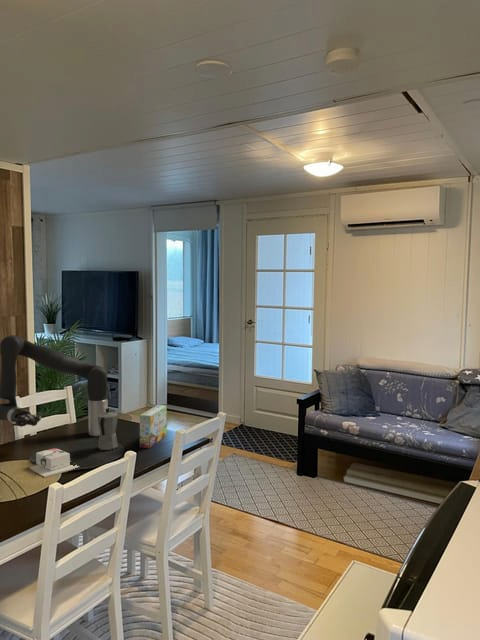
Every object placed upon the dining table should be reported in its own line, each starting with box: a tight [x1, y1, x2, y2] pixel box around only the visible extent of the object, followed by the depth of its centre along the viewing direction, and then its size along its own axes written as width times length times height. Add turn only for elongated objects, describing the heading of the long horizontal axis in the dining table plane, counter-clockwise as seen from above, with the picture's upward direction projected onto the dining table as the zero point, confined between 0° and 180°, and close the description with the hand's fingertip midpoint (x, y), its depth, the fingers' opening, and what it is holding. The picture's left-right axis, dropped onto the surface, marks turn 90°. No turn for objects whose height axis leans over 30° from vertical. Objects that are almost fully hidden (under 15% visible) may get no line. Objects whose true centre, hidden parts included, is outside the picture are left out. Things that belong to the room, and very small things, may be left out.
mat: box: [29, 464, 80, 478], centre depth 186 cm, size 14×14×1 cm
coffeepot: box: [97, 408, 119, 449], centre depth 209 cm, size 15×9×18 cm, turn 179°
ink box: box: [35, 447, 71, 471], centre depth 187 cm, size 8×5×12 cm
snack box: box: [139, 404, 168, 449], centre depth 220 cm, size 21×6×15 cm, turn 168°
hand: (34, 423), depth 199 cm, fingers closed
